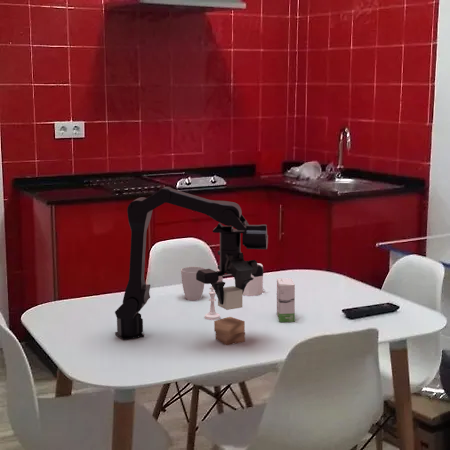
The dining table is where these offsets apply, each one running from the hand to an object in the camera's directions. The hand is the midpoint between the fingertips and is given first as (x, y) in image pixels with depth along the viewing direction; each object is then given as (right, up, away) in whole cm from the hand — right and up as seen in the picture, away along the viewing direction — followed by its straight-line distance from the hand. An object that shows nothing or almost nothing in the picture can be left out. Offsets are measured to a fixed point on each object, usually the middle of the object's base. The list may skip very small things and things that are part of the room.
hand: (230, 303), depth 212 cm
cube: (0, -1, 0) cm, 1 cm away
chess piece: (-5, -7, +23) cm, 24 cm away
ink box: (+17, -7, +22) cm, 29 cm away
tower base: (0, -11, +2) cm, 11 cm away
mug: (+6, -2, +52) cm, 53 cm away
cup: (-12, -3, +44) cm, 46 cm away
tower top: (0, -8, +1) cm, 8 cm away
